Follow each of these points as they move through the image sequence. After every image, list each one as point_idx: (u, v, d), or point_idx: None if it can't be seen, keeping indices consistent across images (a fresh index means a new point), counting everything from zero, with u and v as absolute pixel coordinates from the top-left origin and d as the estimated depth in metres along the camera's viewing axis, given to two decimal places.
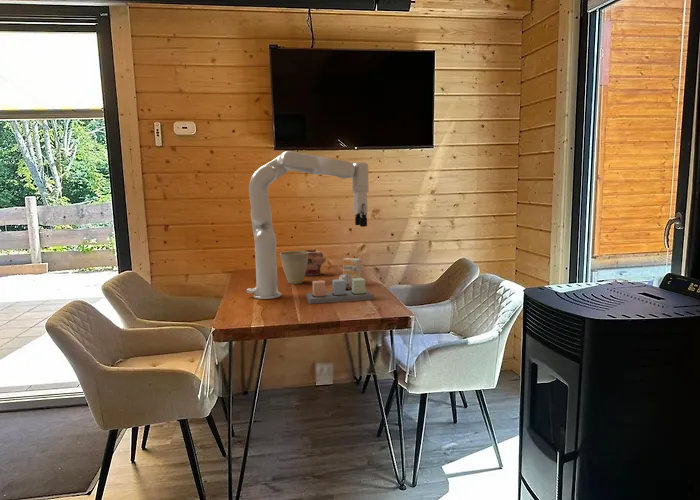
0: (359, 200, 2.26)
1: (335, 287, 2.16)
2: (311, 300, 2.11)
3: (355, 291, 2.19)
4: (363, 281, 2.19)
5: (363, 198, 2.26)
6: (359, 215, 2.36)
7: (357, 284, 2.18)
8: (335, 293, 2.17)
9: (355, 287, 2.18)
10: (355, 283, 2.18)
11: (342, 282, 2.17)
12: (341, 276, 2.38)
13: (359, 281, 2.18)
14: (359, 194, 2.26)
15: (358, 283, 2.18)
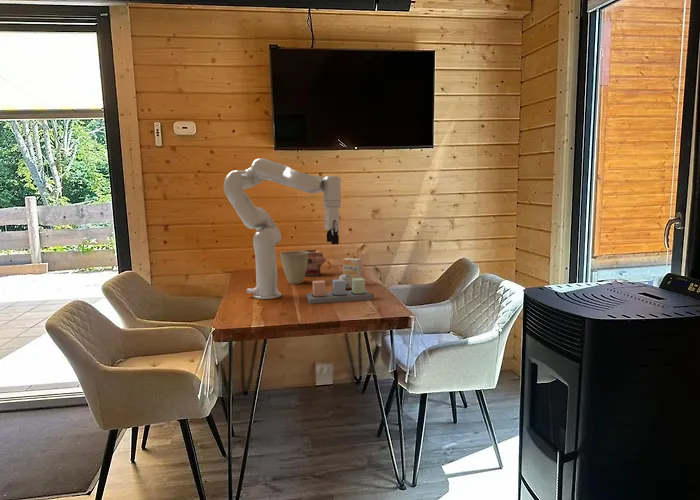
0: (330, 216, 2.12)
1: (335, 287, 2.16)
2: (311, 300, 2.11)
3: (355, 291, 2.19)
4: (363, 281, 2.19)
5: (334, 214, 2.12)
6: (331, 231, 2.22)
7: (357, 284, 2.18)
8: (335, 293, 2.17)
9: (355, 287, 2.18)
10: (355, 283, 2.18)
11: (342, 282, 2.17)
12: (341, 276, 2.38)
13: (359, 281, 2.18)
14: (330, 210, 2.12)
15: (358, 283, 2.18)
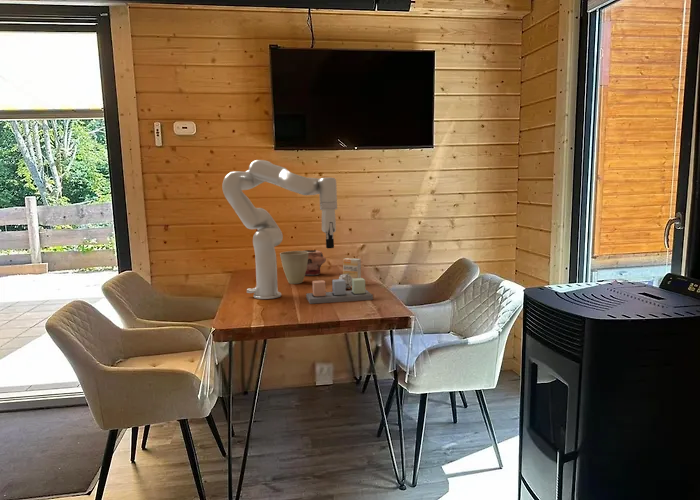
0: (326, 218, 2.09)
1: (335, 287, 2.16)
2: (311, 300, 2.11)
3: (355, 291, 2.19)
4: (363, 281, 2.19)
5: (330, 216, 2.10)
6: None
7: (357, 284, 2.18)
8: (335, 293, 2.17)
9: (355, 287, 2.18)
10: (355, 283, 2.18)
11: (342, 282, 2.17)
12: (341, 276, 2.38)
13: (359, 281, 2.18)
14: (326, 212, 2.09)
15: (358, 283, 2.18)
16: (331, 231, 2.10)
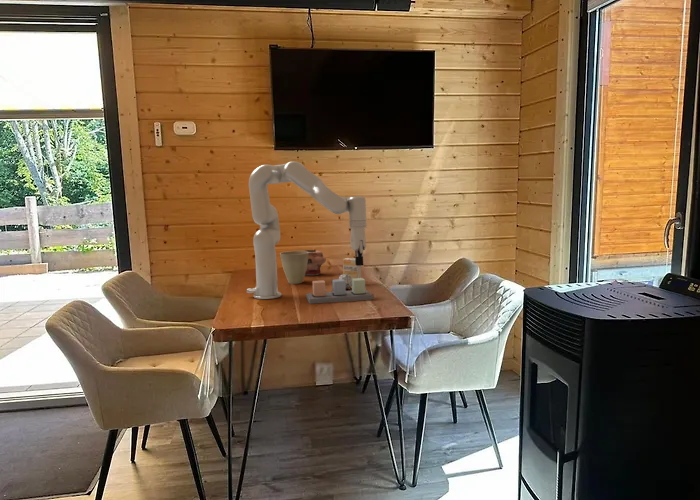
0: (357, 236, 2.13)
1: (335, 287, 2.16)
2: (311, 300, 2.11)
3: (355, 291, 2.19)
4: (363, 281, 2.19)
5: (360, 234, 2.14)
6: None
7: (357, 284, 2.18)
8: (335, 293, 2.17)
9: (355, 287, 2.18)
10: (355, 283, 2.18)
11: (342, 282, 2.17)
12: (341, 276, 2.38)
13: (359, 281, 2.18)
14: (356, 230, 2.13)
15: (358, 283, 2.18)
16: (361, 249, 2.14)
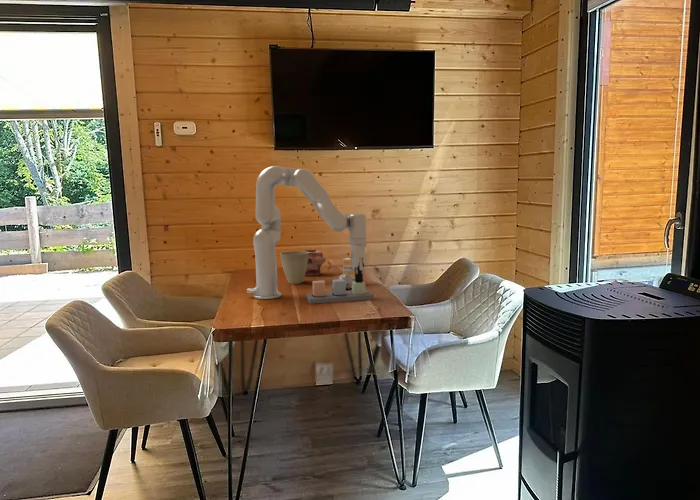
0: (356, 254, 2.14)
1: (335, 287, 2.16)
2: (311, 300, 2.11)
3: (355, 294, 2.19)
4: (363, 284, 2.19)
5: (360, 252, 2.15)
6: None
7: (357, 287, 2.19)
8: (335, 293, 2.17)
9: (355, 290, 2.19)
10: (355, 286, 2.18)
11: (342, 282, 2.17)
12: (341, 276, 2.38)
13: (359, 284, 2.19)
14: (356, 248, 2.14)
15: (358, 286, 2.19)
16: (361, 266, 2.15)
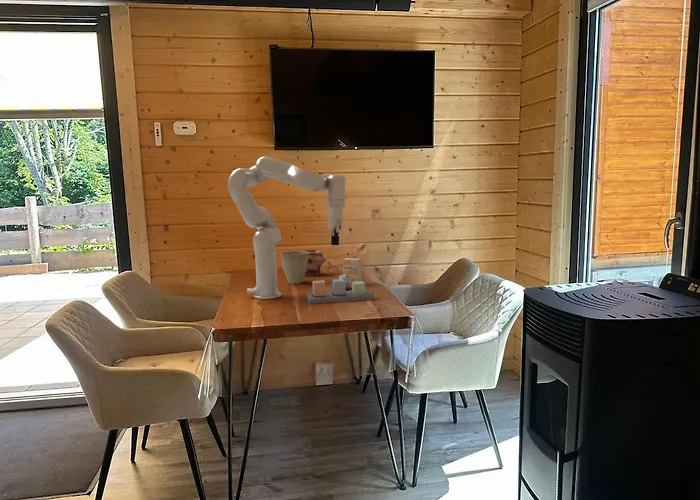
0: (334, 215, 2.11)
1: (335, 287, 2.16)
2: (311, 300, 2.11)
3: (355, 294, 2.19)
4: (363, 284, 2.19)
5: (338, 214, 2.12)
6: None
7: (357, 287, 2.19)
8: (335, 293, 2.17)
9: (355, 290, 2.19)
10: (355, 286, 2.18)
11: (342, 282, 2.17)
12: (341, 276, 2.38)
13: (359, 284, 2.19)
14: (334, 209, 2.11)
15: (358, 286, 2.19)
16: (337, 228, 2.12)
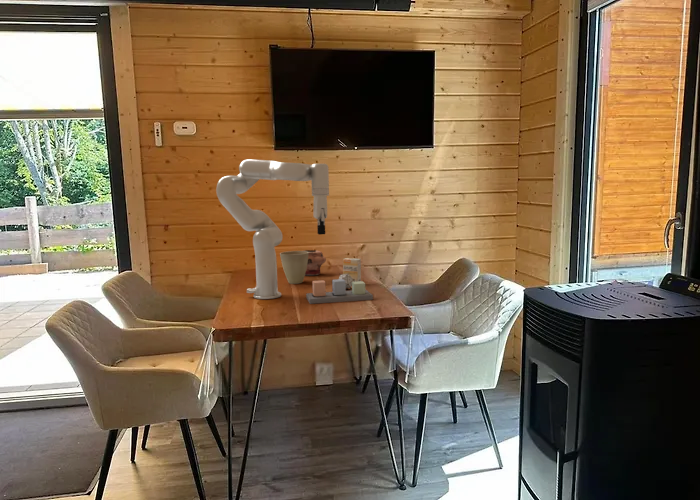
0: (318, 204, 2.10)
1: (335, 287, 2.16)
2: (311, 300, 2.11)
3: (355, 294, 2.19)
4: (363, 284, 2.19)
5: (322, 202, 2.10)
6: None
7: (357, 287, 2.19)
8: (335, 293, 2.17)
9: (355, 290, 2.19)
10: (355, 286, 2.18)
11: (342, 282, 2.17)
12: (341, 276, 2.38)
13: (359, 284, 2.19)
14: (318, 198, 2.10)
15: (358, 286, 2.19)
16: (322, 217, 2.11)
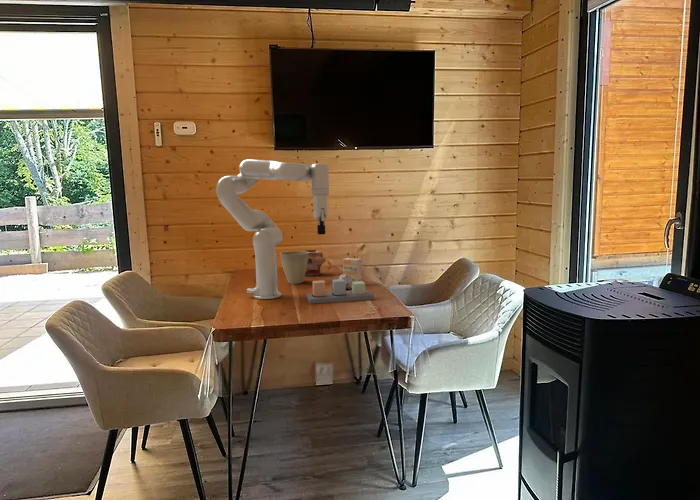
0: (318, 204, 2.10)
1: (335, 287, 2.16)
2: (311, 300, 2.11)
3: (355, 294, 2.19)
4: (363, 284, 2.19)
5: (322, 202, 2.10)
6: None
7: (357, 287, 2.19)
8: (335, 293, 2.17)
9: (355, 290, 2.19)
10: (355, 286, 2.18)
11: (342, 282, 2.17)
12: (341, 276, 2.38)
13: (359, 284, 2.19)
14: (318, 198, 2.10)
15: (358, 286, 2.19)
16: (322, 217, 2.11)
